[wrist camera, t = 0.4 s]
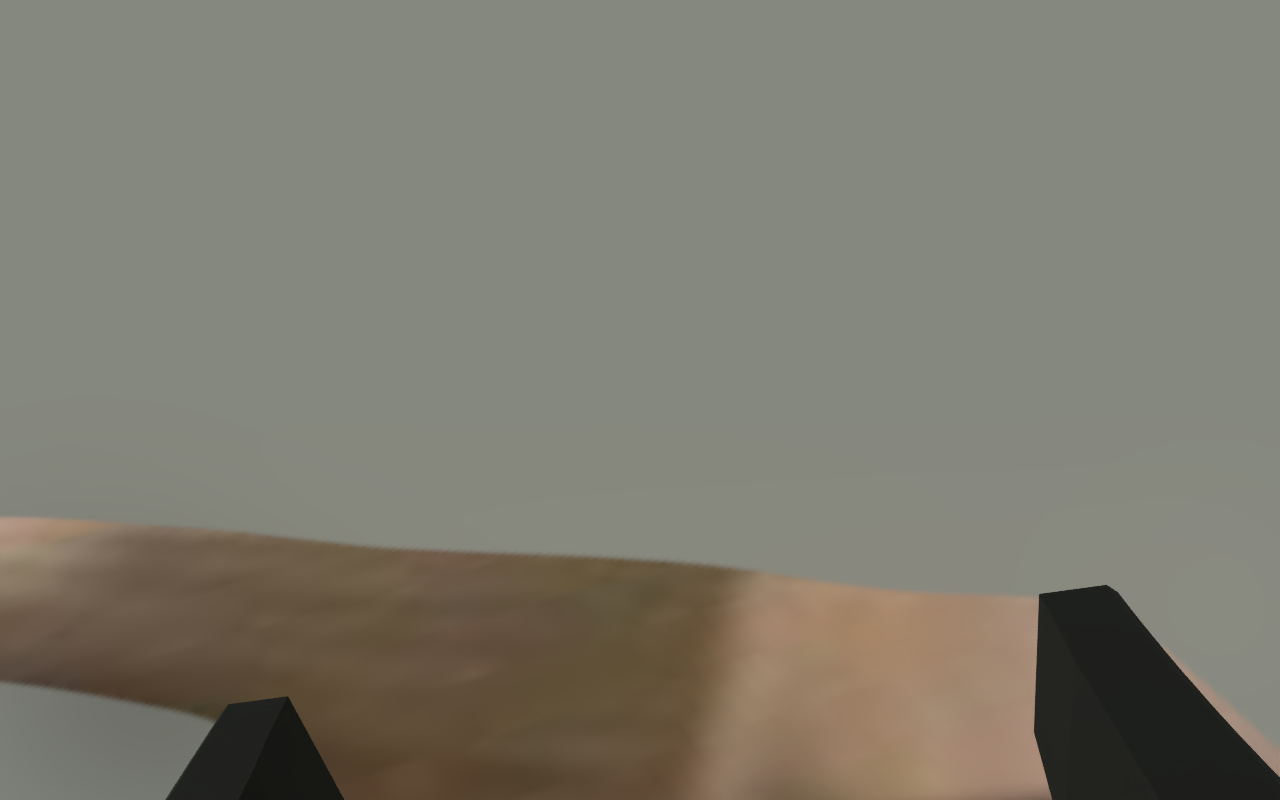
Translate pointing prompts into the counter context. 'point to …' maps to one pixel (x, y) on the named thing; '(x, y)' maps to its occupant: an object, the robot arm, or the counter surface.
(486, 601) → the counter surface
